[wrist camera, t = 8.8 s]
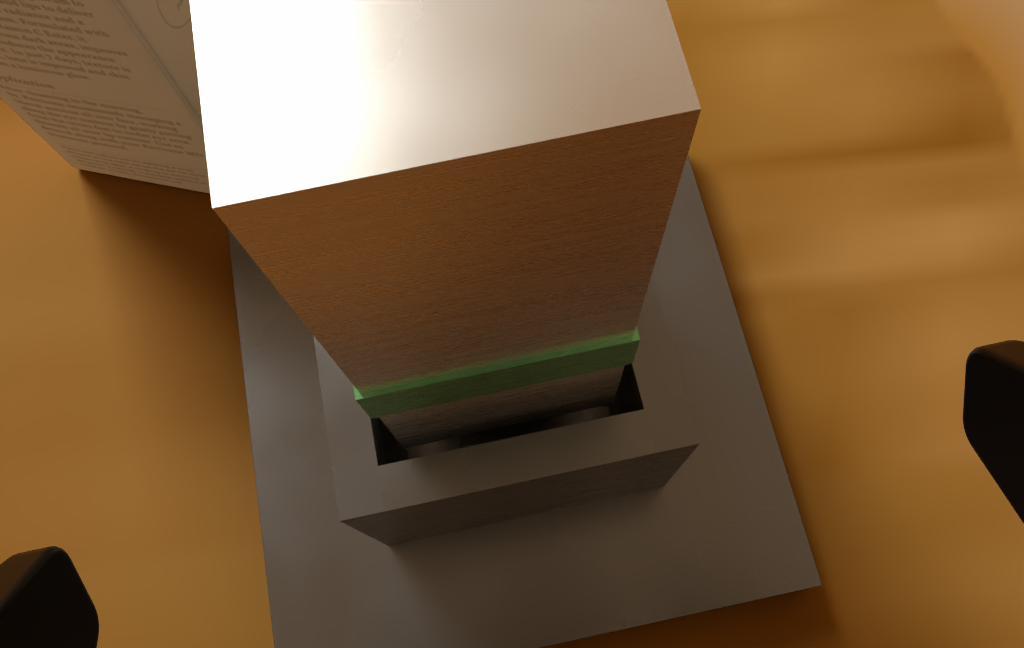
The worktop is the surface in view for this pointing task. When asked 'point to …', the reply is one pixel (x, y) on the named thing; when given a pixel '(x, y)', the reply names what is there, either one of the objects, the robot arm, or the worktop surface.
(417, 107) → the white tall block
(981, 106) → the worktop surface
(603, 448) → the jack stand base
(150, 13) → the small box
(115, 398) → the worktop surface
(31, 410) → the worktop surface
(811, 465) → the worktop surface
